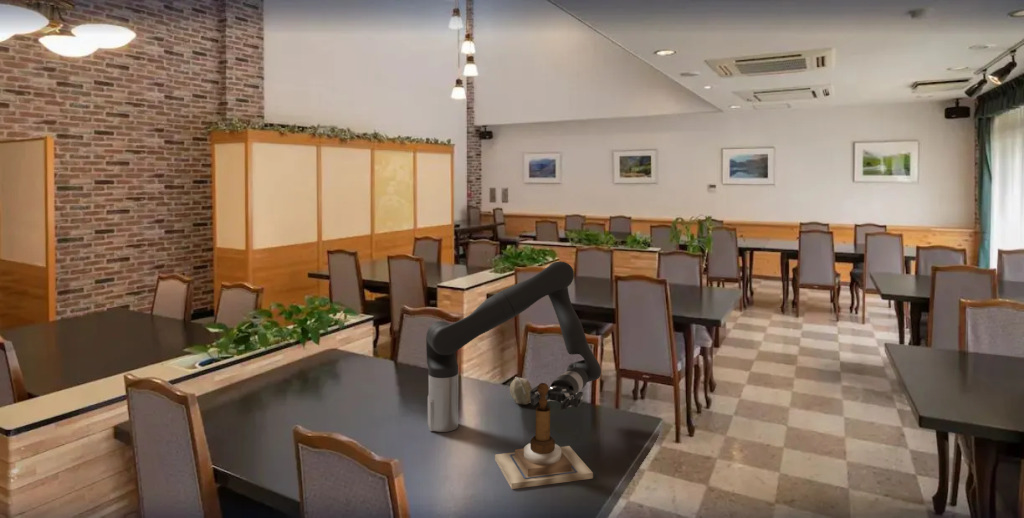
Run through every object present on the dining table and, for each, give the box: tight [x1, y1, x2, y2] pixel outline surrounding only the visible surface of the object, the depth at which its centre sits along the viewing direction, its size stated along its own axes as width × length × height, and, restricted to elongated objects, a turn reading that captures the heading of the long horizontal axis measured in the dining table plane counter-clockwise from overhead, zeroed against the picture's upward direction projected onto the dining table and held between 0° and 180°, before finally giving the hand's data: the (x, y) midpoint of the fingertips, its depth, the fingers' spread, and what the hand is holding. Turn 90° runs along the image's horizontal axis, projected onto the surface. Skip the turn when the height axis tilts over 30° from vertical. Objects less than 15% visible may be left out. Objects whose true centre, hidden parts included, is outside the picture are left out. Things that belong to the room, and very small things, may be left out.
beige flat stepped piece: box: [494, 442, 594, 490], centre depth 163 cm, size 22×17×6 cm
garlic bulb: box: [509, 376, 533, 405], centre depth 213 cm, size 9×8×10 cm
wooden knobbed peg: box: [530, 382, 556, 454], centre depth 162 cm, size 7×6×18 cm
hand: (547, 404), depth 164 cm, fingers open, 8 cm apart
